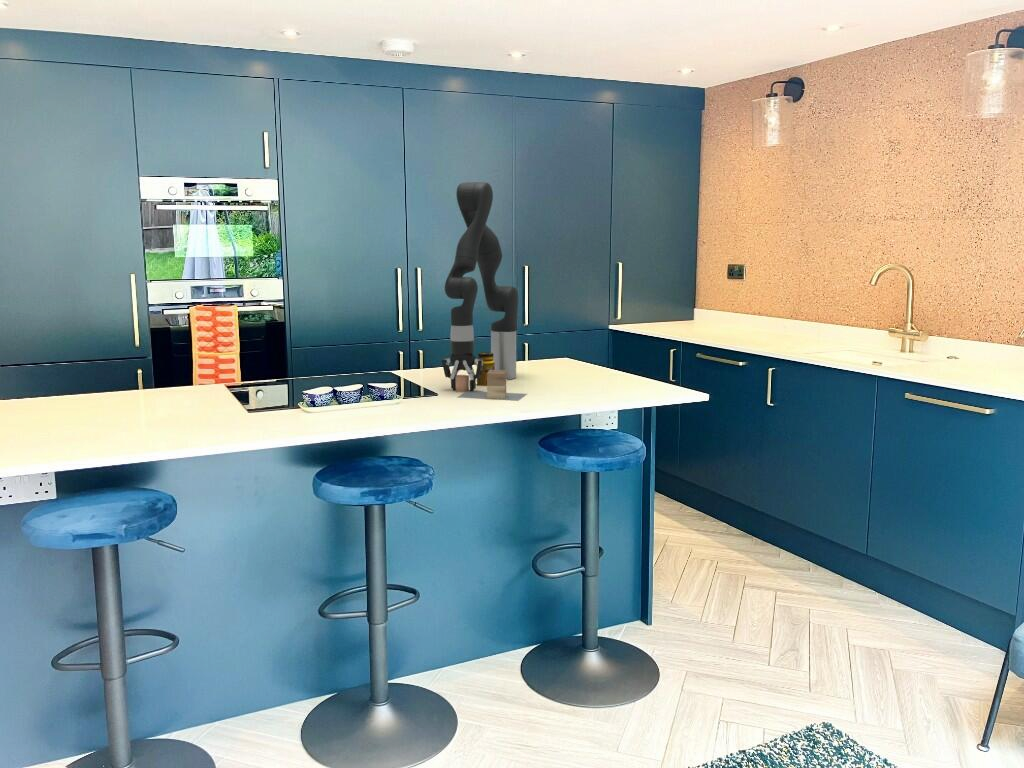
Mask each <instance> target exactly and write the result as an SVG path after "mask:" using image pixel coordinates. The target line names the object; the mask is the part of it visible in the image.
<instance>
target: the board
mask: <svg viewBox="0 0 1024 768" xmlns="http://www.w3.org/2000/svg"><path fill="white" fill-rule="evenodd" d="M527 395H528V393H518V392H517V393H516V392H506V397H505V399H492V400H493V401H494V400H497V401H515V402H516V401H517V402H519V401H520V400H522V399H524V398H525V396H527ZM457 398H462V399H475V400H476V399H477V400H490V399H489V398H487V391H483V390H482V391H481V390H479V391H478V390H474V391H470V390H469V391H465V392H464V393H462V394H459V395H457Z"/></svg>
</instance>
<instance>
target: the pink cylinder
mask: <svg viewBox="0 0 1024 768" xmlns="http://www.w3.org/2000/svg"><path fill="white" fill-rule="evenodd" d="M467 391H470V377H469V374H457V375H456V376H455V392H460V393H461V392H464V393H465V392H467Z"/></svg>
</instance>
